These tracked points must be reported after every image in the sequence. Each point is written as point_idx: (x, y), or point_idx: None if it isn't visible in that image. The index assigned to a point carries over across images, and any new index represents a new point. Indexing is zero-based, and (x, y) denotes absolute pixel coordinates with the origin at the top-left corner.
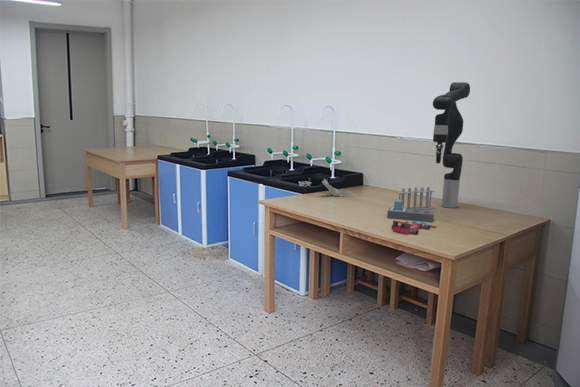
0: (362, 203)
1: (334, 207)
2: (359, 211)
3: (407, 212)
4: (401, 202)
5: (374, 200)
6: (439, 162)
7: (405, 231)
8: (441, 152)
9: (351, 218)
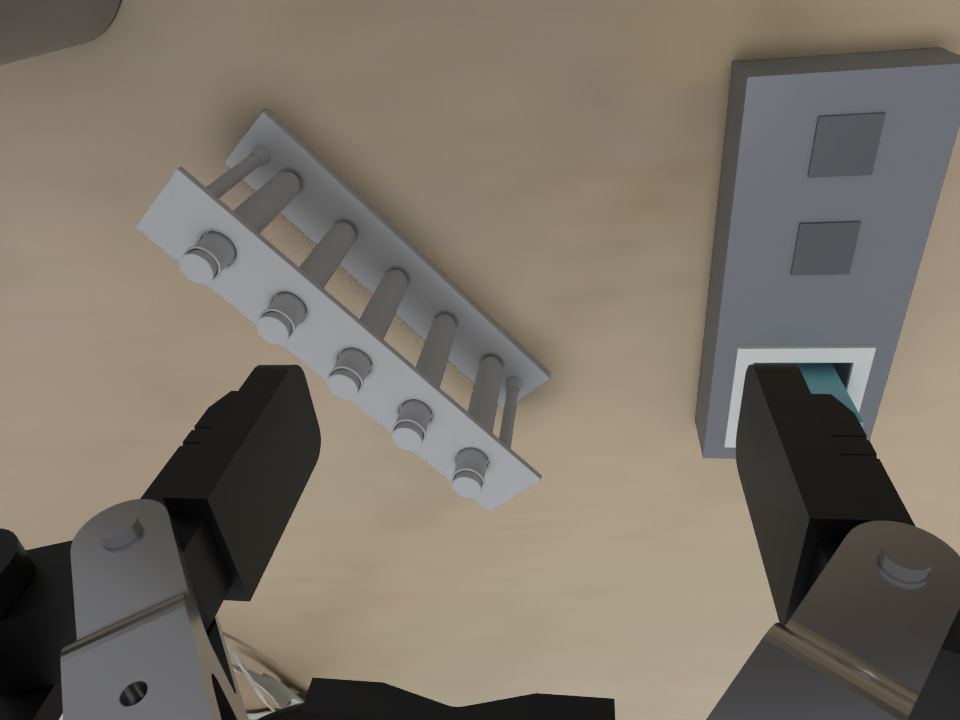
0: (416, 587)
1: (624, 685)
2: (683, 580)
3: (900, 317)
4: (861, 422)
5: None
6: (794, 387)
7: None
8: (883, 687)
9: None
